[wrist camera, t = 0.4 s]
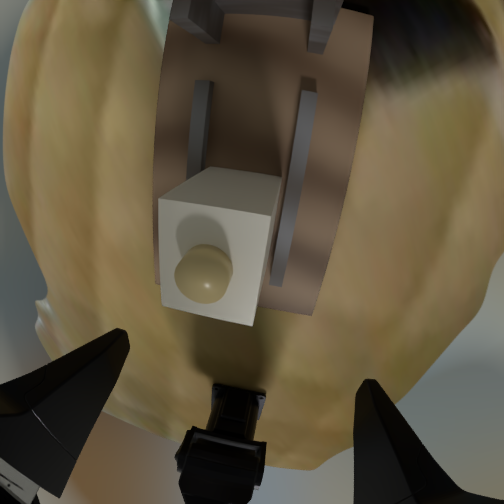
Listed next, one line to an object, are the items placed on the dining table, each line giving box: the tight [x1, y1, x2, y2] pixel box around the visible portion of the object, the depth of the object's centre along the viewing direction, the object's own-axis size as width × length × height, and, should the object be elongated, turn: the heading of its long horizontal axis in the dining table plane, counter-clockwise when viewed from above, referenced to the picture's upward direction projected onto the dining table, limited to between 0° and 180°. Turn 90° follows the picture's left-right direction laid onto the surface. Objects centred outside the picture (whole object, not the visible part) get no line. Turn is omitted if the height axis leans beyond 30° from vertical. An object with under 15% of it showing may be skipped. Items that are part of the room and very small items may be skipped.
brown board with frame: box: [153, 0, 374, 316], centre depth 15 cm, size 24×14×9 cm, turn 173°
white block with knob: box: [158, 166, 282, 326], centre depth 16 cm, size 6×5×9 cm
